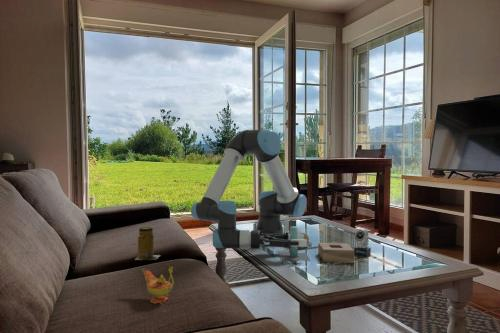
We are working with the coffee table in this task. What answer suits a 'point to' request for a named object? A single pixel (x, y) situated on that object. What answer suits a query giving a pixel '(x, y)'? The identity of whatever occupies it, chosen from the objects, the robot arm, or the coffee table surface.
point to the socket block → (336, 252)
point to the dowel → (293, 236)
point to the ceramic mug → (304, 237)
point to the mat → (287, 257)
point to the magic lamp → (158, 285)
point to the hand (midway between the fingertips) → (305, 240)
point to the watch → (362, 243)
